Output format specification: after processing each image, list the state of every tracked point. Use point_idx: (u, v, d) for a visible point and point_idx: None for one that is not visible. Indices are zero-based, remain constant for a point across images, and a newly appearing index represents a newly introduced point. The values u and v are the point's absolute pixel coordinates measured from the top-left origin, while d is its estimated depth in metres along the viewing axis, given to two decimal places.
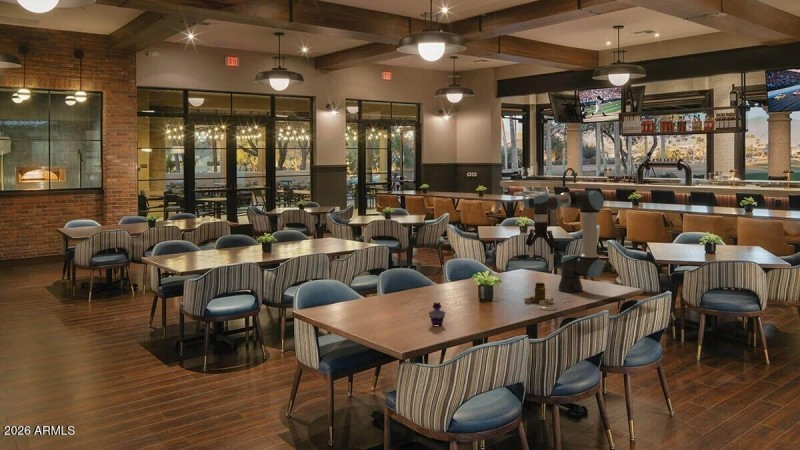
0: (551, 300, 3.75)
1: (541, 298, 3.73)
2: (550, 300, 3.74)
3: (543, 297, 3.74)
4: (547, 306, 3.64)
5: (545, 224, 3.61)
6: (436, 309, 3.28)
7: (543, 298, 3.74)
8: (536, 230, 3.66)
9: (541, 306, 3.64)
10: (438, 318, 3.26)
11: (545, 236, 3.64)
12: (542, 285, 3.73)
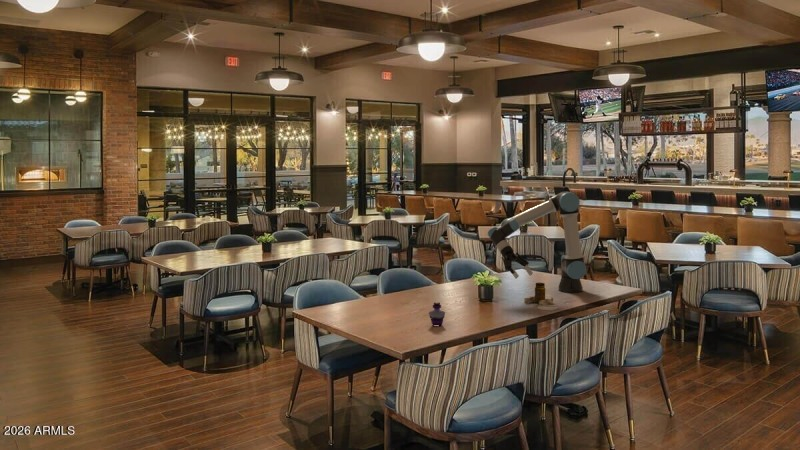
0: (551, 300, 3.75)
1: (541, 298, 3.73)
2: (550, 300, 3.74)
3: (543, 297, 3.74)
4: (547, 306, 3.64)
5: (501, 251, 3.90)
6: (436, 309, 3.28)
7: (543, 298, 3.74)
8: None
9: (541, 306, 3.64)
10: (438, 318, 3.26)
11: None
12: (542, 285, 3.73)
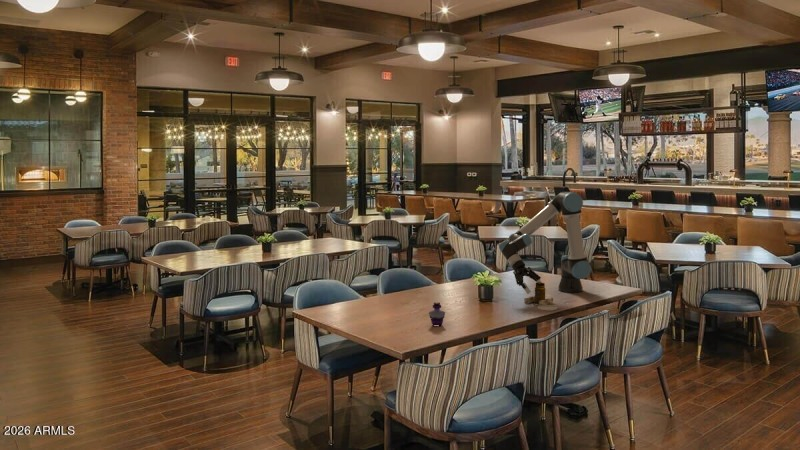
0: (551, 300, 3.75)
1: (541, 298, 3.73)
2: (550, 300, 3.74)
3: (543, 297, 3.74)
4: (547, 306, 3.64)
5: (513, 266, 3.83)
6: (436, 309, 3.28)
7: (543, 298, 3.74)
8: None
9: (541, 306, 3.64)
10: (438, 318, 3.26)
11: None
12: (542, 285, 3.73)
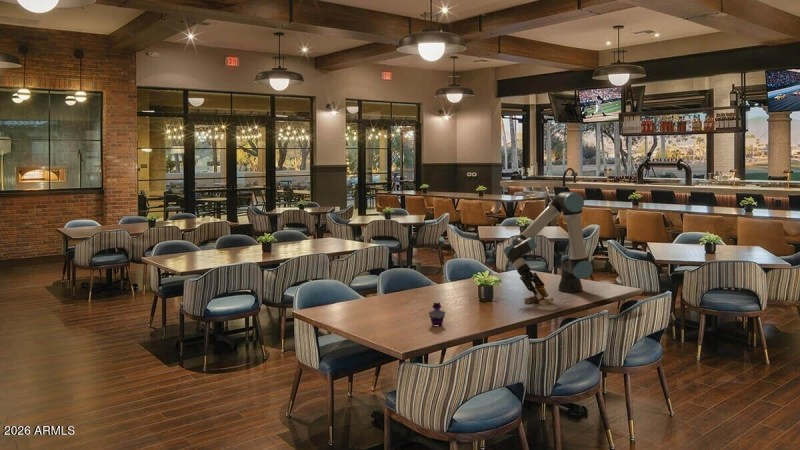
0: (551, 300, 3.75)
1: (541, 298, 3.73)
2: (550, 300, 3.74)
3: (543, 297, 3.73)
4: (547, 306, 3.64)
5: (518, 270, 3.81)
6: (436, 309, 3.28)
7: (542, 298, 3.73)
8: None
9: (541, 306, 3.64)
10: (438, 318, 3.26)
11: (529, 277, 3.78)
12: (542, 285, 3.73)
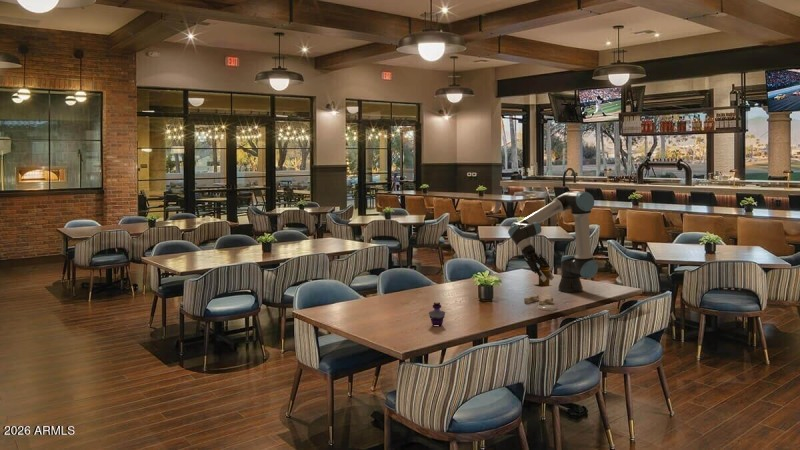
0: (551, 300, 3.75)
1: (545, 280, 3.60)
2: (550, 300, 3.74)
3: (547, 280, 3.61)
4: (547, 306, 3.64)
5: (523, 251, 3.69)
6: (436, 309, 3.28)
7: (547, 280, 3.61)
8: None
9: (541, 306, 3.64)
10: (438, 318, 3.26)
11: None
12: (547, 267, 3.60)
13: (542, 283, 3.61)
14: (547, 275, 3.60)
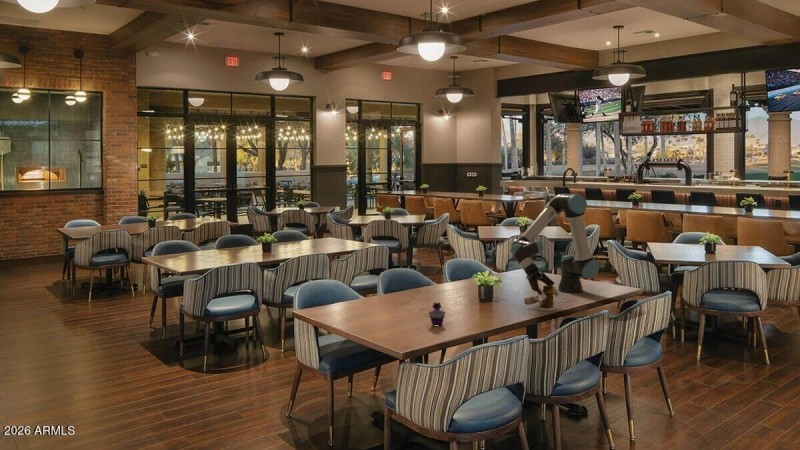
0: None
1: (549, 301, 3.59)
2: None
3: (551, 301, 3.60)
4: None
5: (526, 270, 3.68)
6: (436, 309, 3.28)
7: (551, 302, 3.60)
8: None
9: None
10: (438, 318, 3.26)
11: (536, 277, 3.64)
12: (550, 288, 3.59)
13: (546, 305, 3.60)
14: (551, 297, 3.59)
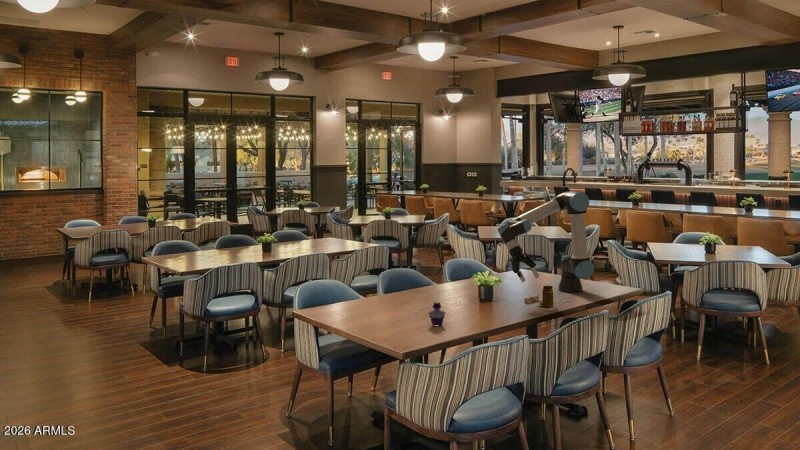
0: None
1: (549, 301, 3.59)
2: None
3: (551, 301, 3.60)
4: None
5: (510, 251, 3.78)
6: (436, 309, 3.28)
7: (551, 302, 3.60)
8: None
9: None
10: (438, 318, 3.26)
11: (519, 260, 3.76)
12: (550, 288, 3.59)
13: (546, 305, 3.60)
14: (551, 297, 3.59)
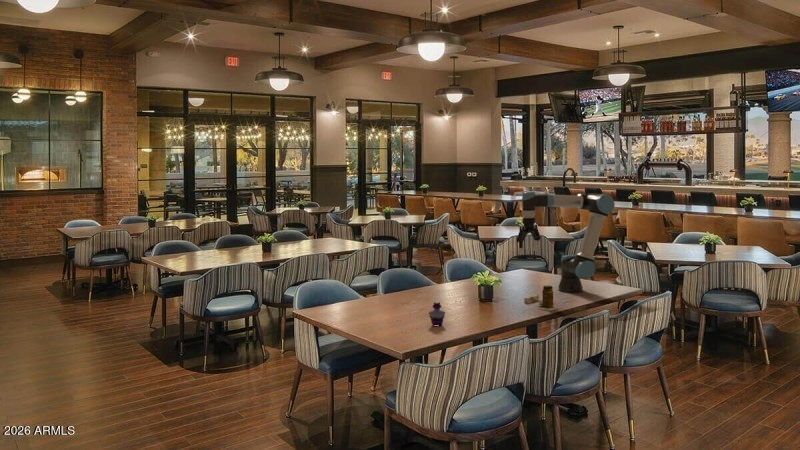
0: None
1: (549, 301, 3.59)
2: None
3: (551, 301, 3.60)
4: None
5: (524, 220, 3.83)
6: (436, 309, 3.28)
7: (551, 302, 3.60)
8: None
9: None
10: (438, 318, 3.26)
11: (527, 231, 3.83)
12: (550, 288, 3.59)
13: (546, 305, 3.60)
14: (551, 297, 3.59)
